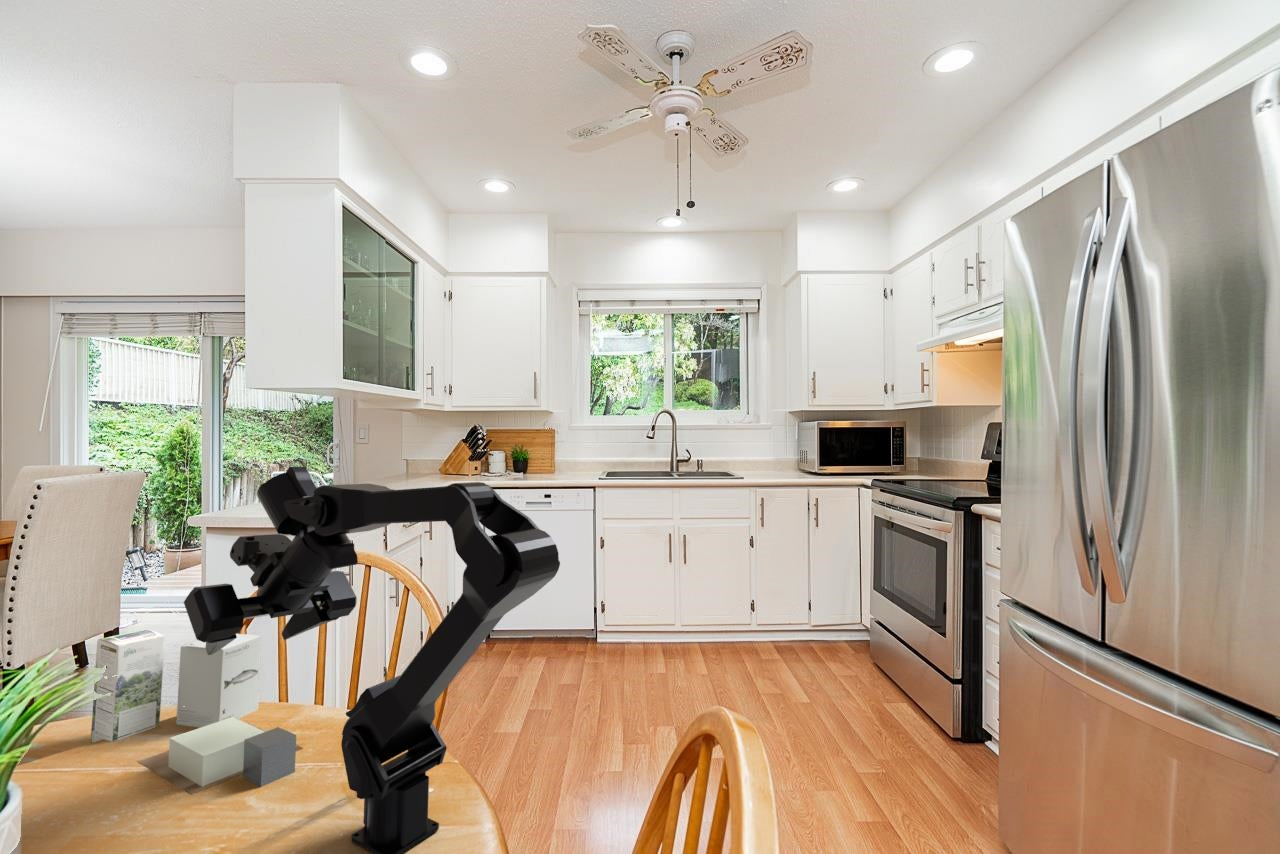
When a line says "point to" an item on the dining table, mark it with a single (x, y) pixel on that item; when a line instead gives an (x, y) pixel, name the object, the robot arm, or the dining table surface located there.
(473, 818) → the dining table surface
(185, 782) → the walnut board
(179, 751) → the sage cover
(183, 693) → the supplement box
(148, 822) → the dining table surface
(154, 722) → the syrup box
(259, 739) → the grey block
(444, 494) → the robot arm
